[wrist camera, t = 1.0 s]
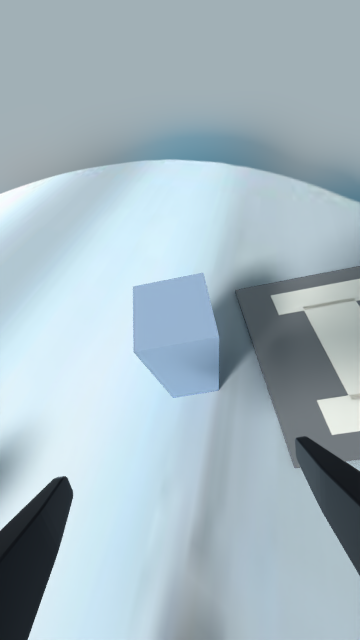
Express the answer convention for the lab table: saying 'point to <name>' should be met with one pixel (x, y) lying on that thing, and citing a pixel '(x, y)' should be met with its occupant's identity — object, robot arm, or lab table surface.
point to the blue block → (177, 334)
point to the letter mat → (310, 356)
